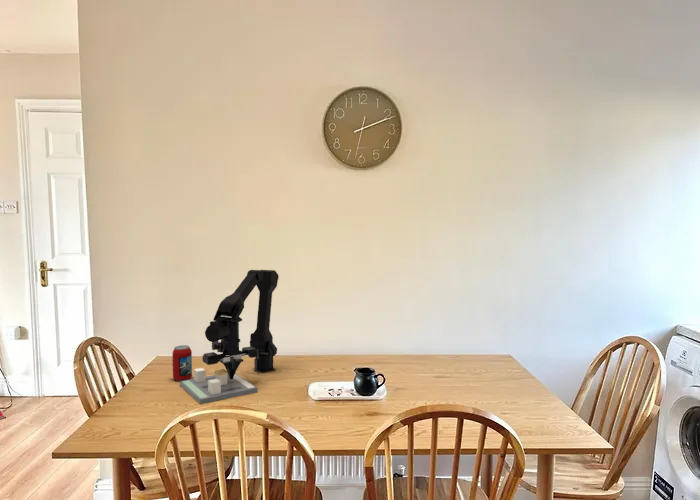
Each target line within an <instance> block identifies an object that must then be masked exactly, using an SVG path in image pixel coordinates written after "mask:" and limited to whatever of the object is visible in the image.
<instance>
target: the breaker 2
mask: <svg viewBox="0 0 700 500" xmlns="http://www.w3.org/2000/svg"><path fill="white" fill-rule="evenodd" d="M208 392H209V393H210V394H211V395H214V394H219V393H221V381H219V380H218V379H212V380H208Z"/></svg>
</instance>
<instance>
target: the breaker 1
mask: <svg viewBox="0 0 700 500" xmlns="http://www.w3.org/2000/svg"><path fill="white" fill-rule="evenodd" d="M205 377H206V369H205V368H203V367H198V368H194V369H193V379H194V381H196V382H197V383H199V382H204V381H206V379H205Z"/></svg>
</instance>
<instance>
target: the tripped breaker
mask: <svg viewBox="0 0 700 500" xmlns="http://www.w3.org/2000/svg"><path fill="white" fill-rule="evenodd" d="M214 375H215V379H218V380H219V381H221V385H226V384H227V370H226V369H224V368H223V369H222V368H221V369H216V370H214Z"/></svg>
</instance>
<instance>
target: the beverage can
mask: <svg viewBox="0 0 700 500" xmlns="http://www.w3.org/2000/svg"><path fill="white" fill-rule="evenodd" d="M190 347H191V346H190V345H187V344H186V345H184V344H183V345H182V344H181V345H176V346H175V347H174V348H173V350H172V379H174V380H175V381H177V382H180V381H185V380H190V379H192V377H193V365H192V364H193V362H192V361H193V360H192V359H193V357H192V355H193V354H192V353H193V351H192V349H191V348H190Z"/></svg>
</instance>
